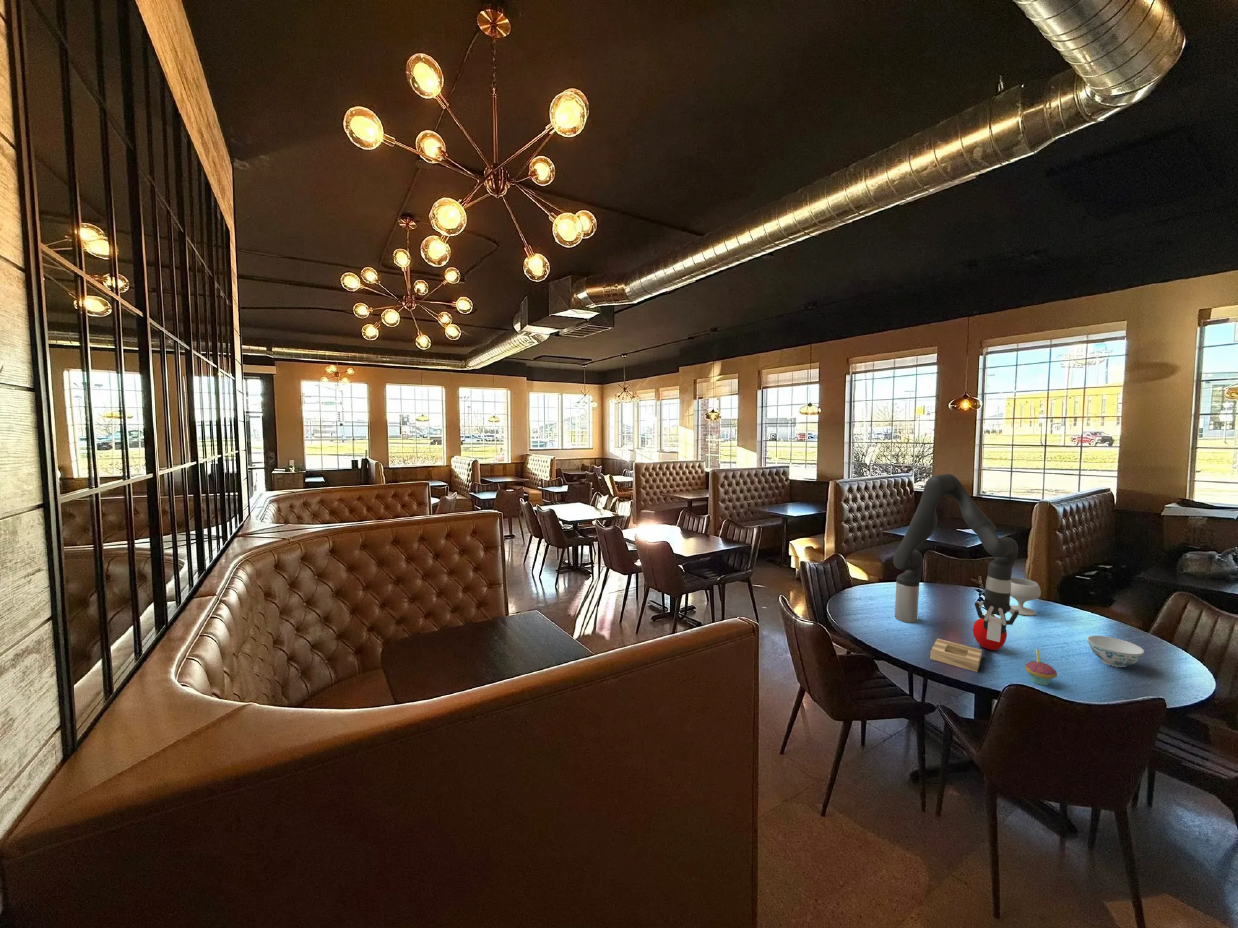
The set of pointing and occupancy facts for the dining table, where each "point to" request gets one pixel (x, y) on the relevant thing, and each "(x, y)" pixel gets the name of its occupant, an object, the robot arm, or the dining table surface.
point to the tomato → (981, 636)
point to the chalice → (1024, 594)
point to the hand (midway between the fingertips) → (994, 631)
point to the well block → (956, 654)
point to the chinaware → (1115, 650)
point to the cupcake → (1040, 671)
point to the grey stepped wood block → (994, 629)
